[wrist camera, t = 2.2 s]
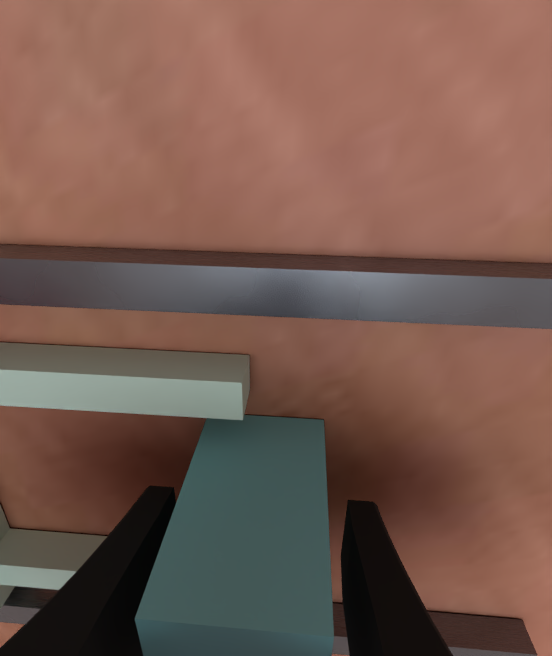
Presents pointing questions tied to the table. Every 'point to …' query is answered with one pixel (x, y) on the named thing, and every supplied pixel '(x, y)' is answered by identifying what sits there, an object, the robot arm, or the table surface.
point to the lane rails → (289, 301)
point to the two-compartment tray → (196, 503)
